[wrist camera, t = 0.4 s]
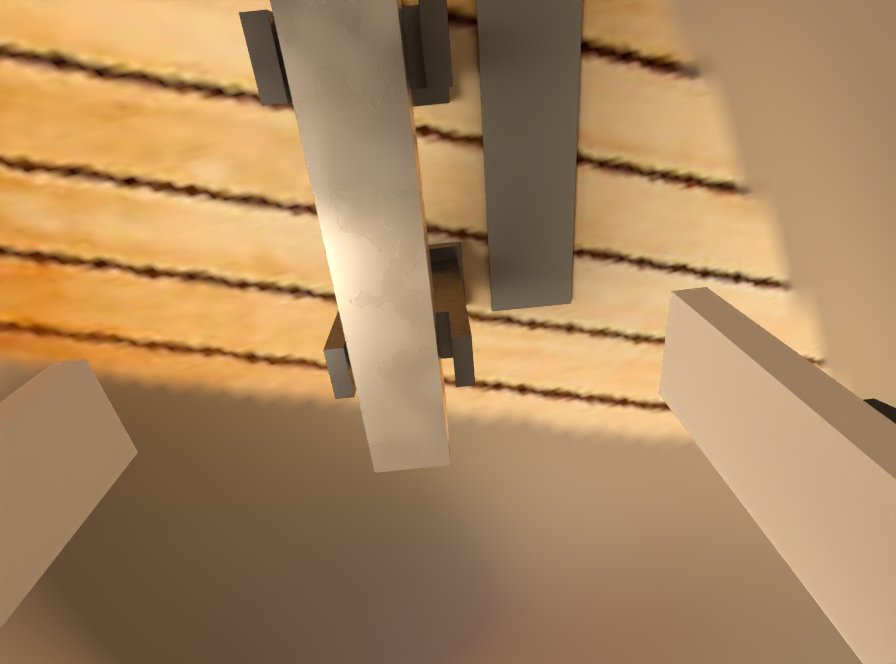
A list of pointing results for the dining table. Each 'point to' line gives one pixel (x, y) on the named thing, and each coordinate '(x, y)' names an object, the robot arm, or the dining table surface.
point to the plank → (530, 146)
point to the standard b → (449, 322)
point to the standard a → (422, 44)
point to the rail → (371, 214)
